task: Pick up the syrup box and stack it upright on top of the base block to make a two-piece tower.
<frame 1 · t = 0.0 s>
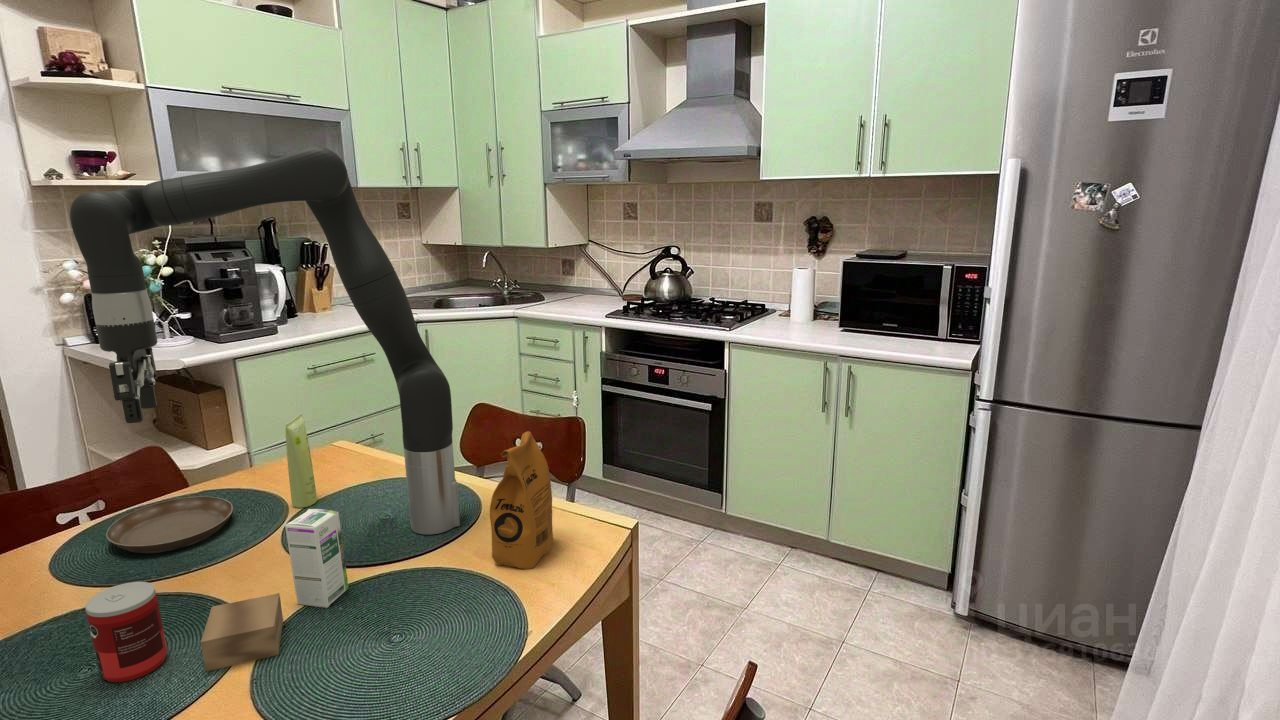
hand: (142, 414, 112), 29 cm above the table, fingers open, 8 cm apart
canned food: (135, 666, 95), on the table
plant saucer: (175, 534, 133), on the table
tube: (304, 504, 145), on the table
coffee package: (523, 553, 125), on the table
syrup box: (323, 597, 111), on the table
base block: (246, 645, 100), on the table
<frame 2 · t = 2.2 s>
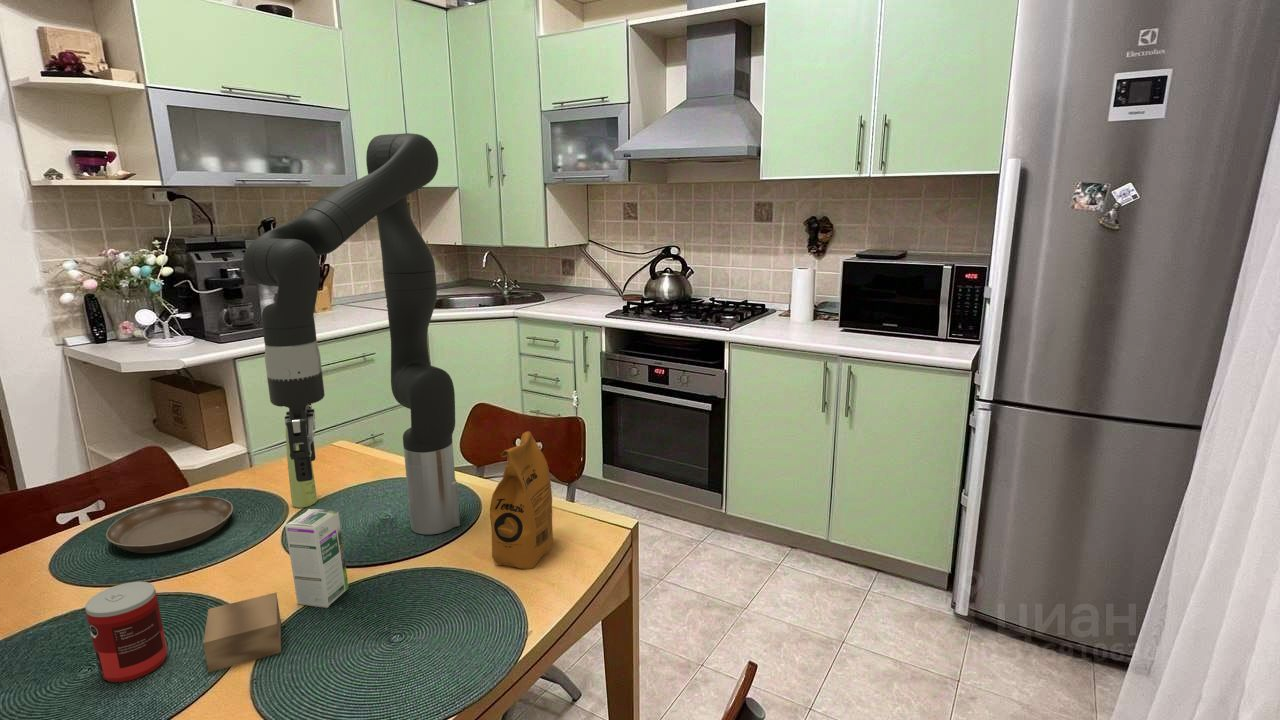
hand: (306, 470, 106), 22 cm above the table, fingers open, 8 cm apart
nothing on the table moved.
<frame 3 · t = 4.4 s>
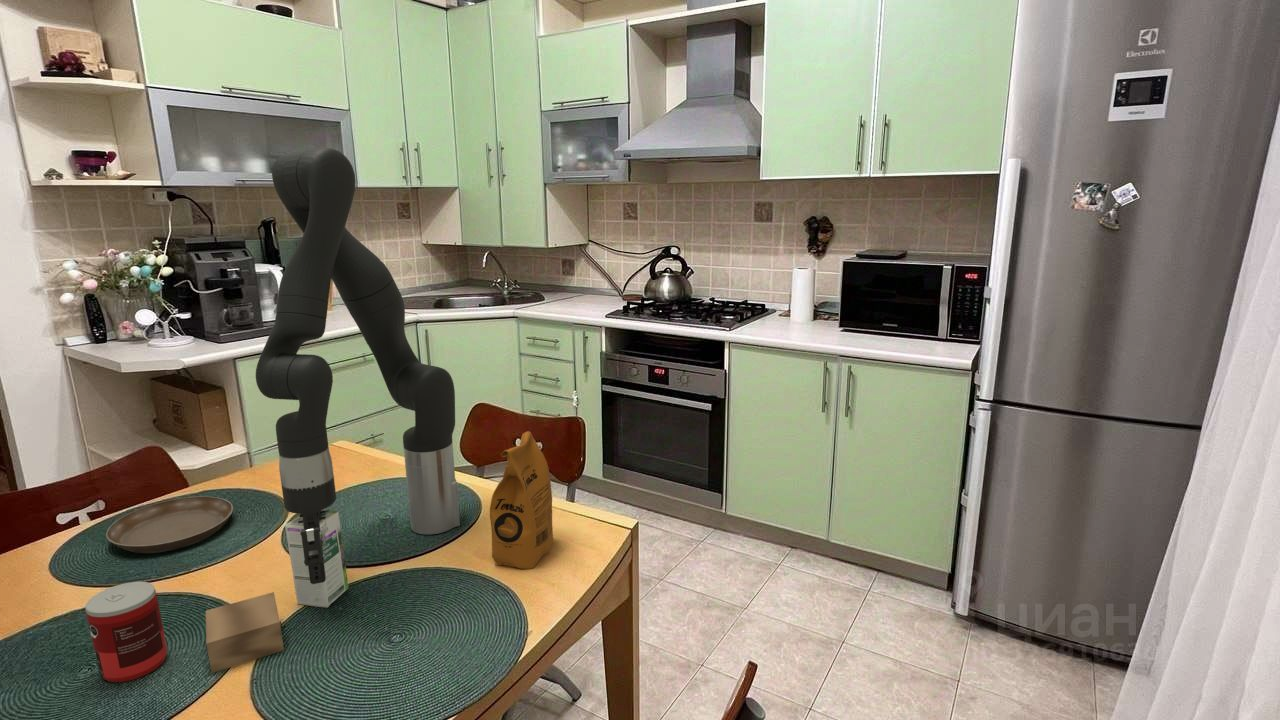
hand: (319, 569, 110), 5 cm above the table, fingers closed on syrup box, 7 cm apart
syrup box: (323, 597, 111), on the table, touching gripper
everything else where it was.
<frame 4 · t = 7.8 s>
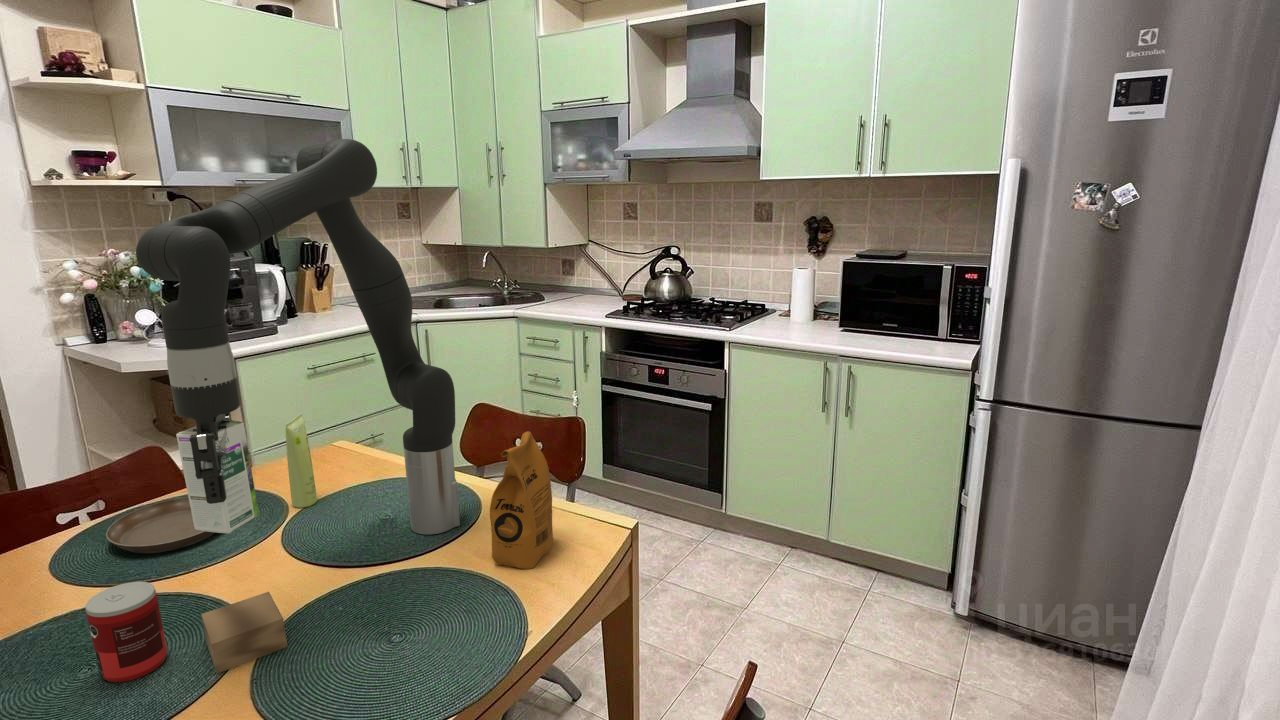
hand: (222, 490, 94), 25 cm above the table, fingers closed on syrup box, 7 cm apart
syrup box: (227, 524, 95), point 19 cm above the table, touching gripper
everything else where it was.
when the fingers open (11 cm above the table, at t = 11.2 s): syrup box drops 1 cm, resting on base block.
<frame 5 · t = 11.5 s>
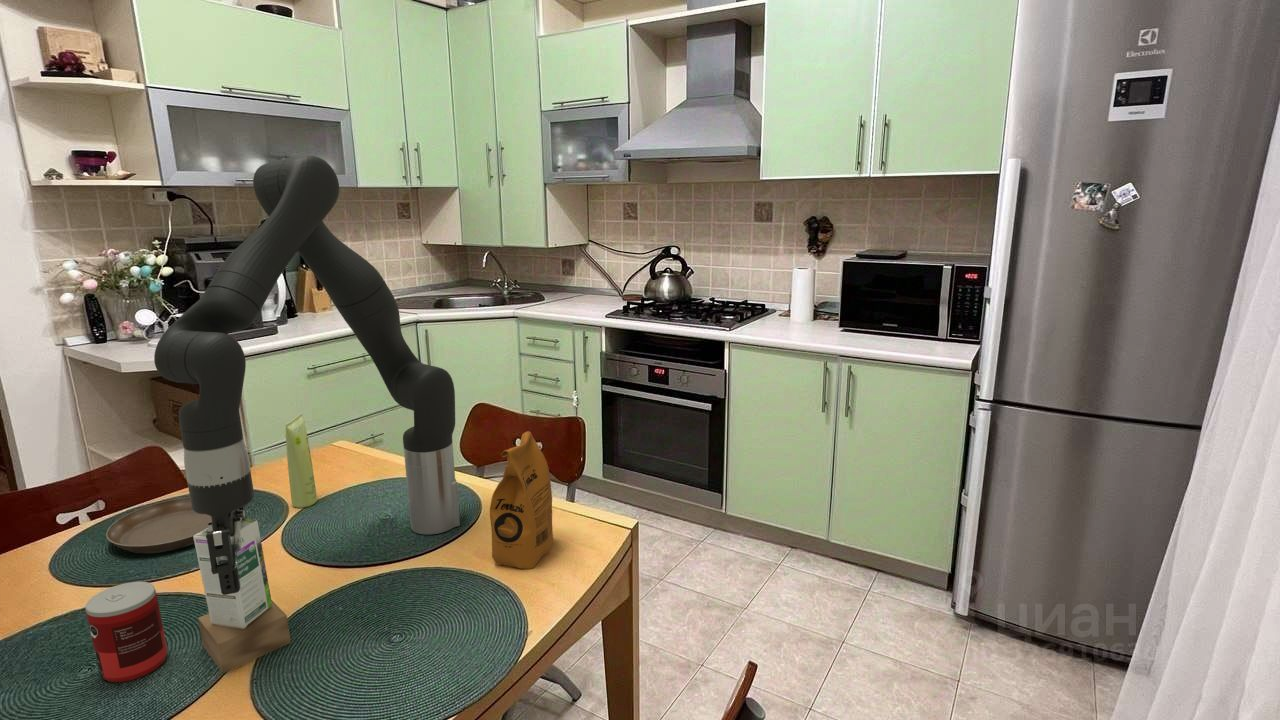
hand: (236, 576, 97), 11 cm above the table, fingers open, 8 cm apart
syrup box: (242, 616, 99), point 4 cm above the table, touching base block, gripper
base block: (247, 646, 100), on the table, touching syrup box
everything else where it was.
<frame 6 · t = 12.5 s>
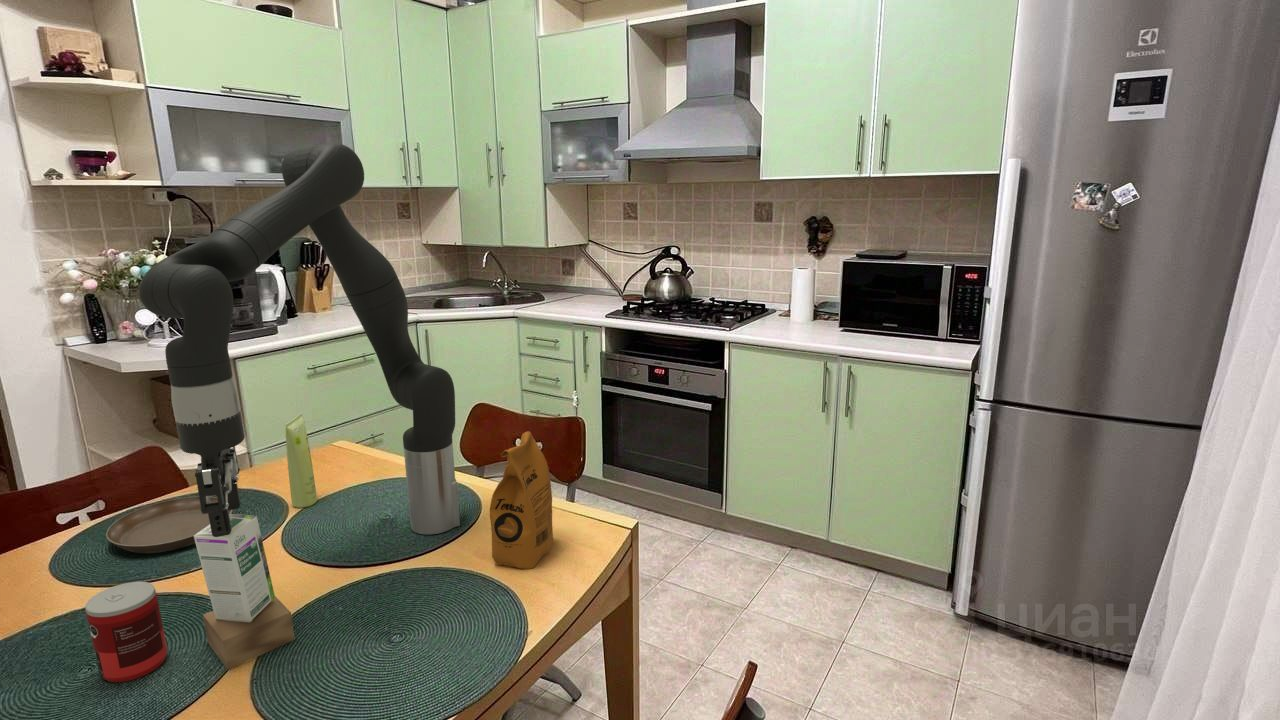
hand: (227, 521, 95), 20 cm above the table, fingers open, 8 cm apart
syrup box: (245, 610, 100), point 5 cm above the table
base block: (251, 642, 100), on the table
everything else where it was.
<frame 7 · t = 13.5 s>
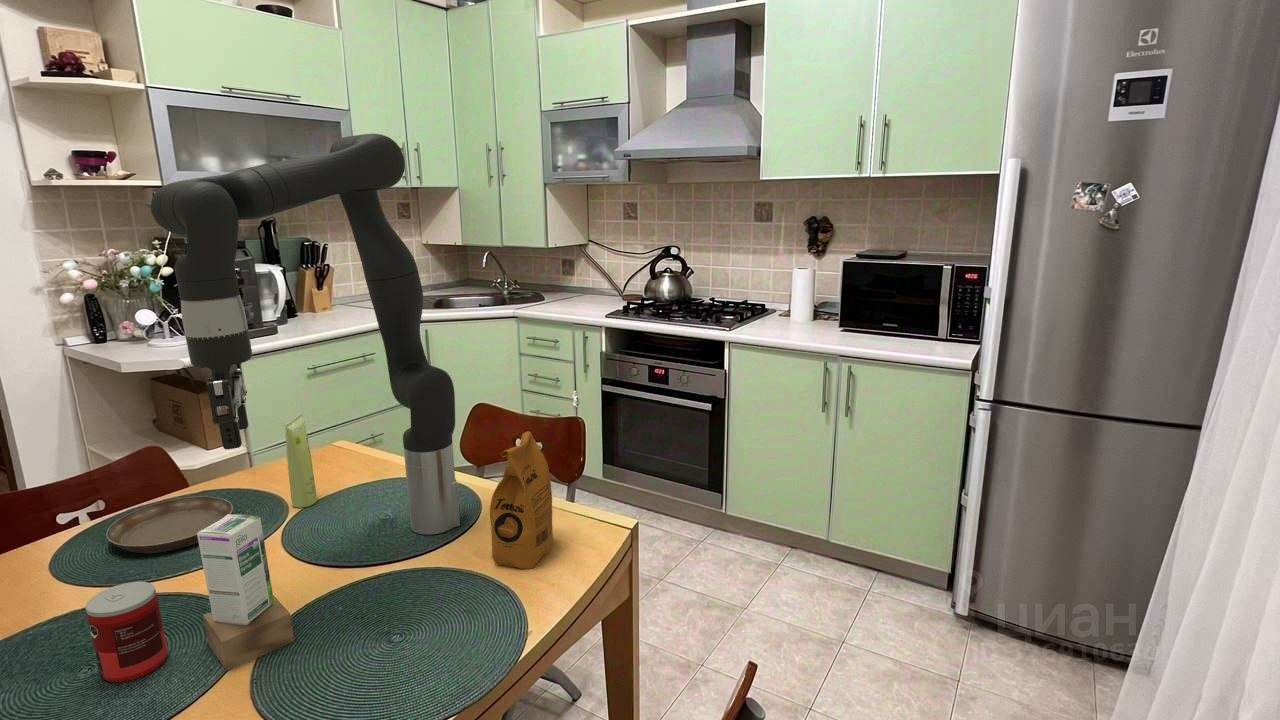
hand: (236, 438, 98), 30 cm above the table, fingers open, 8 cm apart
nothing on the table moved.
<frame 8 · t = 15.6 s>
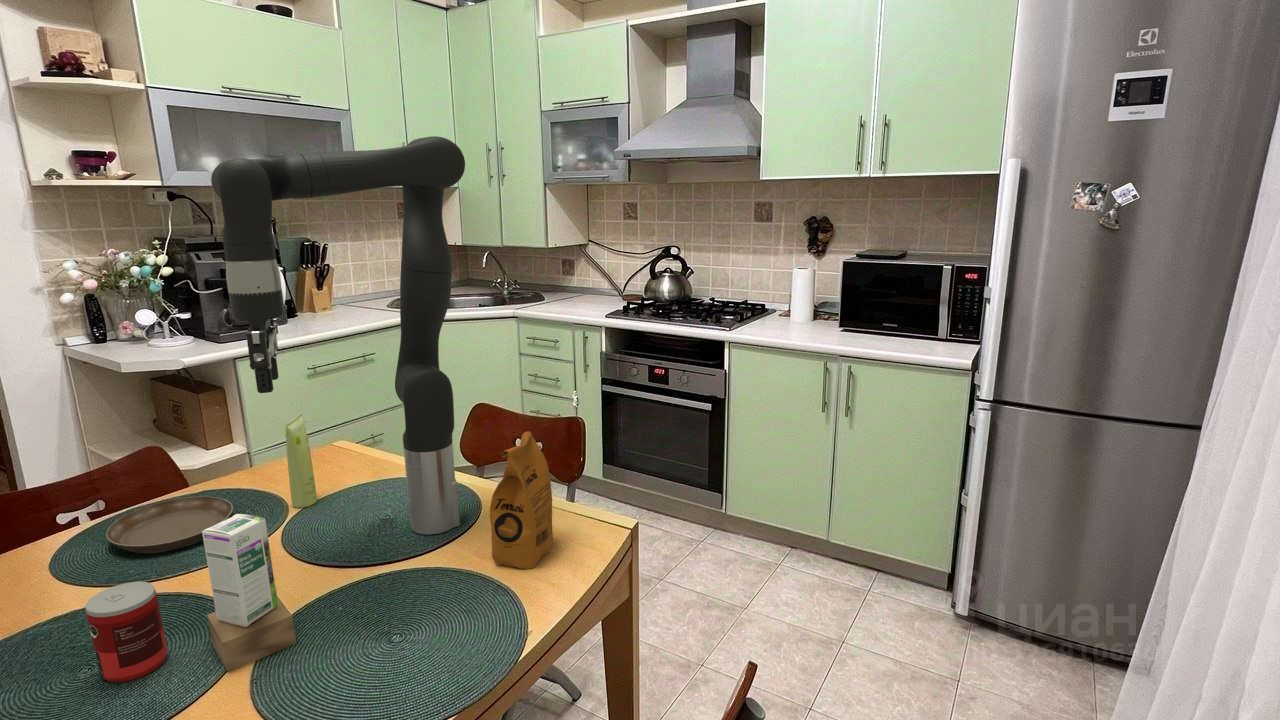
hand: (268, 385, 111), 34 cm above the table, fingers open, 8 cm apart
syrup box: (247, 614, 99), point 4 cm above the table, touching base block
base block: (254, 644, 100), on the table, touching syrup box
everything else where it was.
at the end: syrup box 0.6 cm from the base block (horizontally); syrup box point 4.5 cm above the table; syrup box tilted 1° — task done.
